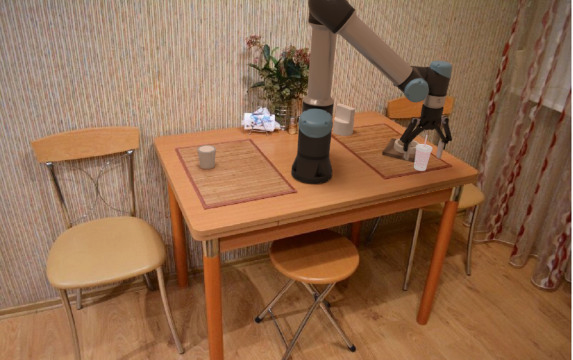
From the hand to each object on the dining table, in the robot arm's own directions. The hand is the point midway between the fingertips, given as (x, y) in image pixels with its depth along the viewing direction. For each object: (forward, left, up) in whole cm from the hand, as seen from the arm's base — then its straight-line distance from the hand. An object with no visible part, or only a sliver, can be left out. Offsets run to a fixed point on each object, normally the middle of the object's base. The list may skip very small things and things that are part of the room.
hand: (422, 158), depth 172 cm
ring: (-8, +12, -3) cm, 15 cm away
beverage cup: (0, 0, -5) cm, 5 cm away
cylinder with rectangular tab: (-38, +19, -5) cm, 43 cm away
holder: (-8, +12, -4) cm, 15 cm away
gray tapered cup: (-72, -39, -5) cm, 82 cm away
